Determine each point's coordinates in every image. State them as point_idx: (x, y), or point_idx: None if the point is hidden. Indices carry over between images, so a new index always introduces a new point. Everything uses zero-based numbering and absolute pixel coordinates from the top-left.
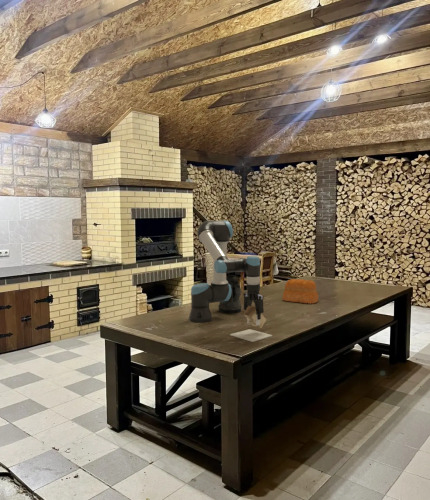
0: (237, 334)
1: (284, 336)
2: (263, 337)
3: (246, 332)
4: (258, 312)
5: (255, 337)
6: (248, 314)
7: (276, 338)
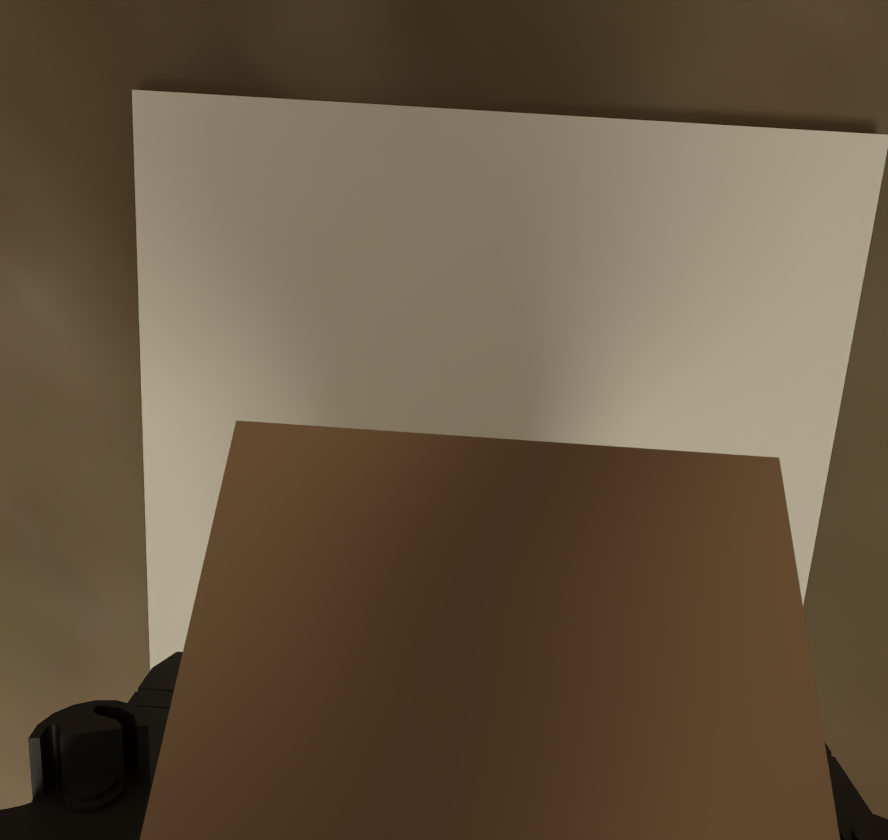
0: (729, 246)
1: (8, 793)
2: (158, 451)
3: None
4: (29, 830)
5: (273, 340)
6: (426, 471)
7: (9, 611)
